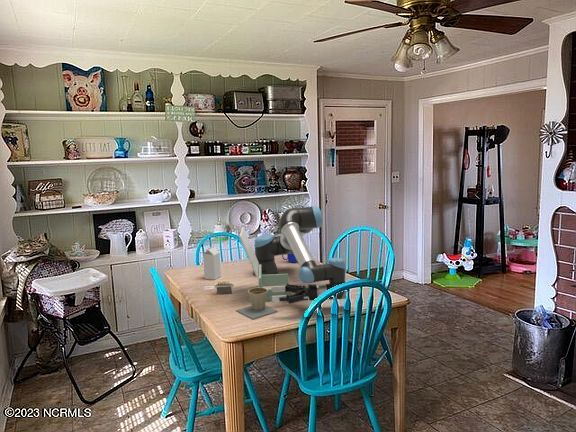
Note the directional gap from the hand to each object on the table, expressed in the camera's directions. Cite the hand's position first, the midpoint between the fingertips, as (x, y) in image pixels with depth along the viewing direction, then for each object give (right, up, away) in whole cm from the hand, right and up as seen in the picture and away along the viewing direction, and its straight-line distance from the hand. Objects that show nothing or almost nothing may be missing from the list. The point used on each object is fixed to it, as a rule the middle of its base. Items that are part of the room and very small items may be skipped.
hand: (271, 294), depth 207 cm
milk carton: (-37, -1, +57) cm, 68 cm away
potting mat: (-7, -8, +1) cm, 11 cm away
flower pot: (-6, -7, +4) cm, 11 cm away
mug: (+9, +6, +88) cm, 88 cm away
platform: (-26, -5, +29) cm, 39 cm away
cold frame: (+1, -4, +28) cm, 28 cm away
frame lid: (-12, +19, +23) cm, 32 cm away
